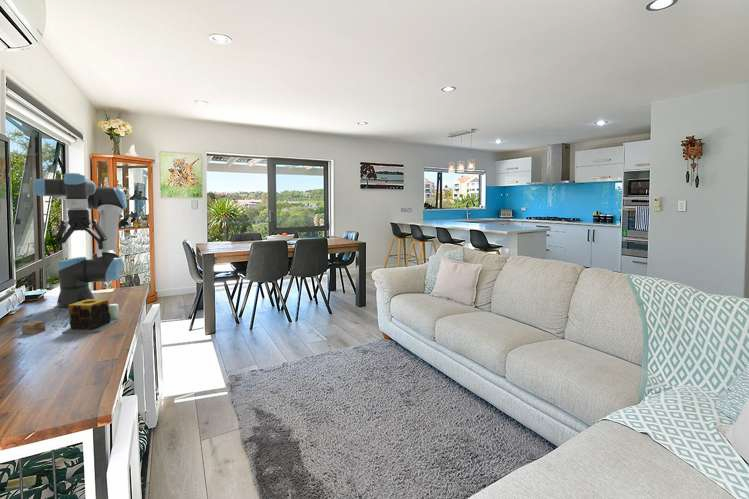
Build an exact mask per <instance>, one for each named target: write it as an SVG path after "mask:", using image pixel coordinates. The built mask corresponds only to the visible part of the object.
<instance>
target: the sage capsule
mask: <svg viewBox="0 0 749 499" xmlns="http://www.w3.org/2000/svg"><path fill="white" fill-rule="evenodd" d="M109 312H110V317H111V318H110V320H118V319H120V309H119V304H118V303H110V304H109Z"/></svg>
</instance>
